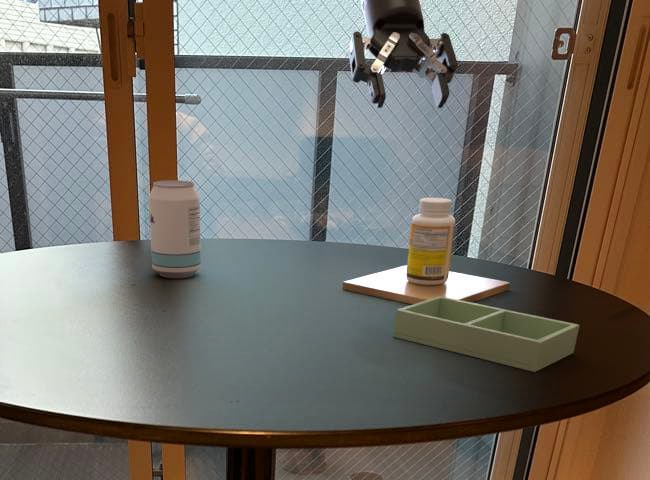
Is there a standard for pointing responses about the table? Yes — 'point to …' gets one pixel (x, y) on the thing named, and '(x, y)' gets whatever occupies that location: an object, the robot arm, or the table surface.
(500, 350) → the divided tray
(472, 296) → the mat
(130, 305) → the table surface
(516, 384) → the table surface
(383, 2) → the robot arm
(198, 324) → the table surface
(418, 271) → the supplement bottle
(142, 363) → the table surface
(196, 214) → the beverage can
